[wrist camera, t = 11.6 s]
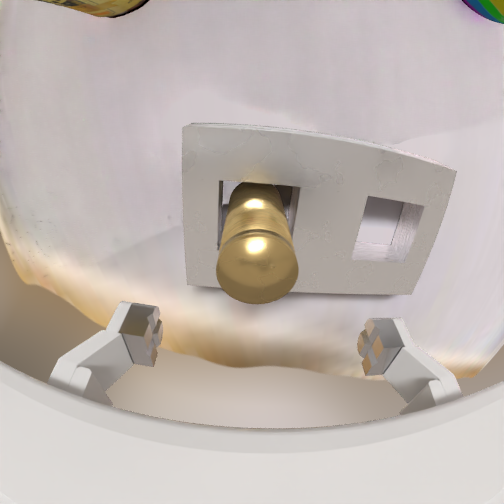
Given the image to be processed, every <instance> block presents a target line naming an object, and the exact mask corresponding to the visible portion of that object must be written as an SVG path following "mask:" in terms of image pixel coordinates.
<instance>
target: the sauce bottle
mask: <svg viewBox="0 0 504 504" xmlns="http://www.w3.org/2000/svg"><path fill="white" fill-rule="evenodd" d="M38 1H43V2H47V3H52V4H55V5H59V6H64V7H67V8H71V9H74V10H78V11H81V12H84V13H87V14H91V15H93V16H97V17H108V18H116V17H120V16H124V15H126V14H129V13H131V12H133V11H135V10H138V9H139V8H141V7H142V6H144V5H145V4H146V3H147V2H148V1H149V0H38Z"/></svg>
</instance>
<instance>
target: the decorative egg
mask: <svg viewBox="0 0 504 504" xmlns="http://www.w3.org/2000/svg"><path fill="white" fill-rule="evenodd" d="M462 1H463V2H464V3H465V4H466V5H467V6H468V7H469V8H470V9H471V10H473V11H474V12H476V13H477V14H479V15H481V16H483V17H484V18H487V19H489V20H491V21H494V22H497V23H501V24H504V0H462Z"/></svg>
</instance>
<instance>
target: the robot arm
mask: <svg viewBox="0 0 504 504" xmlns="http://www.w3.org/2000/svg"><path fill="white" fill-rule="evenodd" d="M159 316H160V311H159V307H157V306H151V305H145V304H139V303H131V302H126V301H122V302H120V303H119V305H118V307H117V309H116V311H115V313H114V315H113V316H112V318H111V320H110V322H109V324H108V326H107V328H106V330H102V331H100V332H98V333H97V334H95V335H94V336H92V337H91V338H89V339H88V340H86V341H85V342H83V343H82V344H80V345H79V346H77V347H75V348H74V349H72V350H71V351H69V352H68V353H67V354H65V355H64V356H62V357H60V358H59V360H58V361H57V364H56V365H55V368H54V370H53V372H52V374H51V376H50V378H49V380H48V382H47V384H46V383H44V382H41V381H39V380H37V379H35V378H32V377H31V376H28V375H26V374H24V373H22V372H20V371H18V370H16V369H14V368H12V367H10V366H9V365H7V364H5V363H3V362H1V361H0V504H504V381H502V382H500V383H498V384H496V385H493V386H491V387H489V388H486V389H484V390H481V391H479V392H476V393H474V394H471V395H469V396H466V397H463V395H462V392H461V390H460V388H459V385H458V383H457V381H456V378H455V376H454V374H452V373H451V372H450V371H449V370H447V369H446V368H445V367H444V366H443V365H441V364H440V363H439V362H438V361H436V360H435V359H434V358H433V357H431V356H430V355H429V354H428V353H426V352H425V351H424V350H423V349H421V348H420V347H419V346H415V344H414V342H413V340H412V338H411V336H410V334H409V332H408V330H407V328H406V326H405V324H404V321H403V320H402V319H401V318H373V319H368V320H367V321H366V323H365V328H366V329H365V330H364V331H362V332H361V333H360V335H359V338H358V343H357V346H358V352H359V355H360V356H362V357H363V358H364V359H363V361H362V366H363V369H364V372H365V376H369V375H382V374H383V376H384V377H385V379H386V380H387V381H388V382H389V383H390V384H391V385H392V386H393V387H394V389H395V390H396V391H397V392H398V393H399V394H400V395H401V397H402V398H403V399H404V400H405V401H406V402H407V403H408V404H407V405H406V406H405V407H404V408H403V409H402V410H401V412H400V415H399V416H395V417H390V418H385V419H379V420H373V421H367V422H361V423H353V424H345V425H337V426H326V427H313V428H288V429H287V428H286V429H262V428H238V427H224V426H213V425H204V424H195V423H188V422H181V421H175V420H169V419H164V418H158V417H153V416H149V415H144V414H139V413H135V412H131V411H127V410H123V409H119V408H115V407H112V405H113V404H112V402H111V400H110V399H109V397H108V396H107V394H106V393H105V391H106V390H107V389H108V388H109V387H110V386H111V385H113V384H114V383H115V382H116V381H117V380H118V379H119V378H120V377H121V376H122V375H123V374H124V373H125V372H126V371H128V370H129V369H130V368H131V367H132V366H133V364H138V365H145V366H151V367H154V364H155V361H156V357H157V349H156V347H158V346H159V345H160V344H161V341H162V335H163V325H162V321H161V320H160V319H159Z"/></svg>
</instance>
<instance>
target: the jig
mask: <svg viewBox="0 0 504 504" xmlns="http://www.w3.org/2000/svg"><path fill="white" fill-rule="evenodd" d="M456 173H457V171H455V170H454V169H452V168H450V167H448V166H446V165H444V164H442V163H440V162H438V161H436V160H433V159H430V158H426V157H423V156H420V155H416V154H413V153H410V152H406V151H402V150H399V149H395V148H391V147H387V146H383V145H379V144H374V143H370V142H366V141H361V140H356V139H351V138H346V137H341V136H335V135H330V134H324V133H317V132H311V131H303V130H296V129H288V128H279V127H269V126H257V125H244V124H224V123H191V124H189V125H186V126H184V127H183V129H182V196H183V226H184V246H185V262H186V276H187V285H194V286H206V287H219V288H221V286H220V284H219V282H218V280H217V276H216V265H217V260H218V255H219V250H220V245H221V240H222V235H223V231H221V229H222V199H223V181H237V182H252V183H265V184H276V185H287V186H293V187H292V194H291V201H290V208H289V215H288V221H287V222H288V226H289V230H290V234H291V238H292V242H293V246H294V250H295V254H296V258H297V262H298V267H299V273H298V278H297V281H296V283H295V285H294V286H293V288H292V289H291V290H290V291H289V292H306V293H335V294H386V295H411V294H412V292H413V290H414V288H415V286H416V284H417V282H418V279H419V277H420V275H421V273H422V271H423V268H424V266H425V264H426V261H427V259H428V257H429V254H430V252H431V249H432V247H433V244H434V242H435V239H436V236H437V234H438V231H439V228H440V225H441V223H442V220H443V217H444V214H445V211H446V208H447V205H448V201H449V198H450V195H451V191H452V188H453V184H454V181H455V177H456ZM368 196H372V197H379V198H385V199H390V200H396V201H402V202H404V205H403V208H402V212H401V215H400V218H399V221H398V225H397V228H396V231H395V234H394V237H393V240H392V243H391V245H389V244H378V243H368V242H357V241H356V239H357V236H358V232H359V228H360V225H361V221H362V217H363V213H364V209H365V205H366V201H367V197H368Z"/></svg>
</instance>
